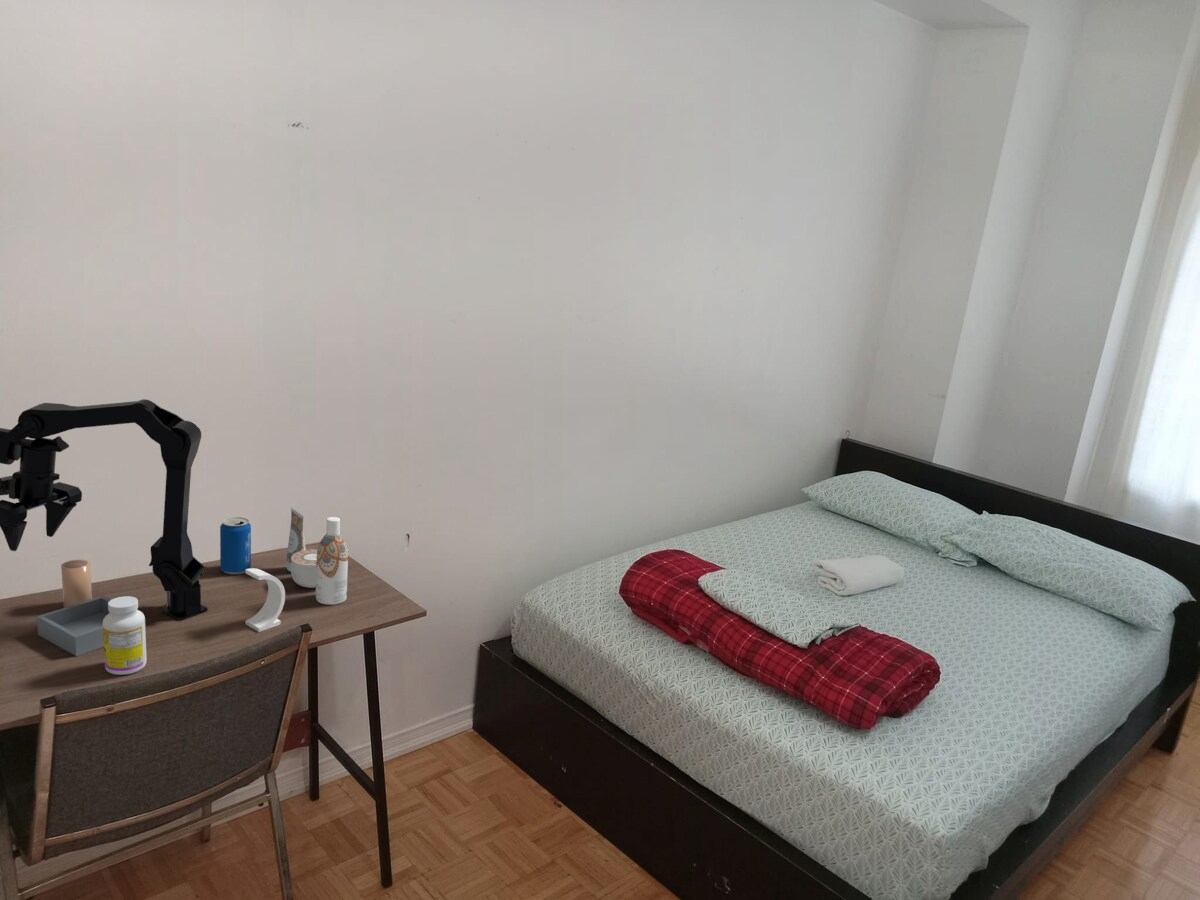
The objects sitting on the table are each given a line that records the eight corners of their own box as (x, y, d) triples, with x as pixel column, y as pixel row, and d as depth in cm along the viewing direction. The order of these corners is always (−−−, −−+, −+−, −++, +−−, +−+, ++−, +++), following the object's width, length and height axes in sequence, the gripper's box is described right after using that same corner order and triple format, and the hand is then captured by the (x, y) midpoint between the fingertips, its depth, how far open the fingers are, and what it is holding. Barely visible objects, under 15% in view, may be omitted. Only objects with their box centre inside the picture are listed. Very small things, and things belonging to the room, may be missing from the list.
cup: (97, 605, 179) (95, 564, 177) (72, 613, 175) (70, 571, 172) (83, 598, 181) (81, 557, 179) (58, 605, 177) (56, 564, 175)
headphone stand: (245, 624, 177) (245, 569, 174) (271, 615, 182) (271, 561, 179) (258, 632, 175) (259, 576, 172) (285, 622, 180) (285, 568, 177)
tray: (142, 632, 170) (141, 614, 169) (76, 656, 159) (75, 637, 158) (103, 613, 176) (102, 595, 175) (38, 634, 165) (36, 616, 164)
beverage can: (240, 577, 198) (240, 528, 195) (214, 573, 199) (213, 523, 196) (256, 567, 204) (256, 519, 201) (231, 563, 205) (231, 514, 202)
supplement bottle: (114, 657, 160) (112, 592, 157) (152, 658, 161) (150, 594, 158) (97, 675, 154) (94, 608, 151) (137, 677, 155) (134, 610, 151)
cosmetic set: (271, 568, 205) (271, 492, 200) (309, 561, 211) (310, 487, 206) (317, 609, 187) (319, 526, 182) (357, 600, 193) (360, 520, 188)
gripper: (37, 448, 179) (32, 519, 182) (-42, 468, 161) (-46, 547, 164) (86, 462, 178) (80, 533, 181) (12, 484, 160) (7, 562, 163)
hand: (31, 543), depth 172 cm, fingers open, 9 cm apart
